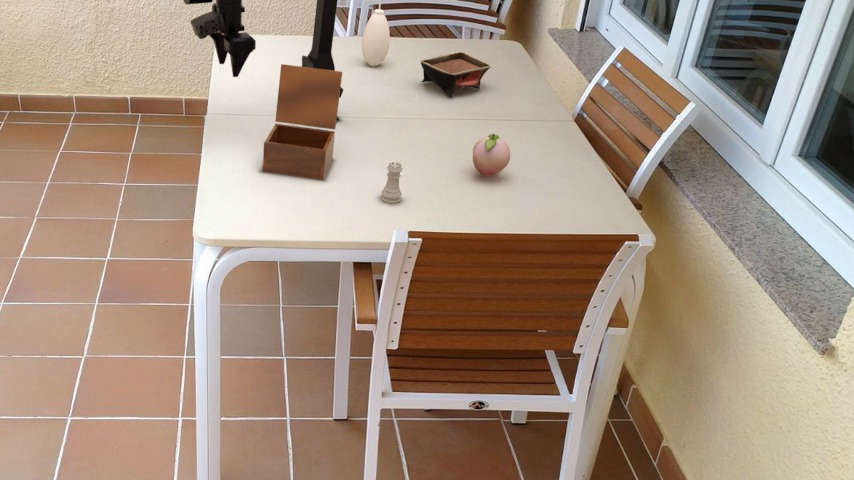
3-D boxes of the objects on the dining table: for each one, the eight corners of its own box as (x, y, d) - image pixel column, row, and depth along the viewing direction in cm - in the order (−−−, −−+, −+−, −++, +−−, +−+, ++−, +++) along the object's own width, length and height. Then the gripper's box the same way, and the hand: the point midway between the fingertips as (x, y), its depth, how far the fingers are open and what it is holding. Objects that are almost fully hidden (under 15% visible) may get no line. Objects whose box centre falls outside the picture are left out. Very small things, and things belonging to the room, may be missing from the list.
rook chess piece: (378, 194, 206) (382, 159, 201) (399, 195, 206) (403, 160, 202) (382, 204, 202) (386, 168, 198) (403, 204, 203) (407, 168, 198)
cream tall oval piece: (360, 59, 280) (367, -5, 270) (387, 62, 280) (395, -2, 269) (358, 67, 274) (365, 2, 264) (386, 70, 273) (393, 5, 263)
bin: (323, 180, 210) (326, 150, 206) (262, 171, 212) (264, 142, 208) (332, 159, 220) (334, 131, 216) (274, 151, 222) (275, 123, 218)
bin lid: (341, 71, 211) (342, 71, 212) (281, 64, 213) (281, 64, 213) (334, 129, 215) (335, 129, 216) (275, 121, 217) (275, 121, 218)
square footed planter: (489, 99, 265) (498, 61, 260) (442, 99, 255) (451, 60, 250) (453, 86, 275) (460, 50, 270) (406, 86, 265) (414, 48, 260)
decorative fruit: (505, 187, 213) (514, 144, 207) (468, 182, 214) (476, 139, 208) (505, 170, 220) (514, 128, 215) (469, 165, 221) (476, 123, 216)
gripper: (181, -9, 219) (182, 60, 228) (208, 15, 205) (208, 87, 214) (227, -12, 222) (227, 56, 231) (257, 11, 208) (255, 82, 217)
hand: (228, 70), depth 223 cm, fingers open, 9 cm apart
